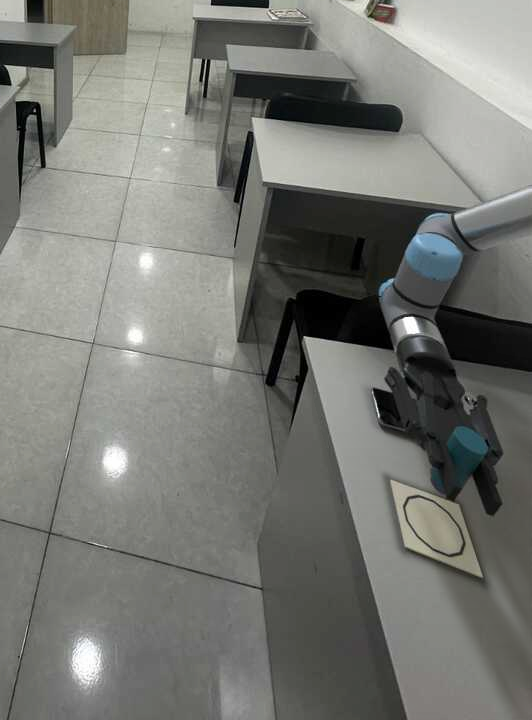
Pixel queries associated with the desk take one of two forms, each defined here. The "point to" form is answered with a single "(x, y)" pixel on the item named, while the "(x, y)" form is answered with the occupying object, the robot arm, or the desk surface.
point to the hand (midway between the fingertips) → (474, 501)
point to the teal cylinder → (462, 456)
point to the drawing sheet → (434, 528)
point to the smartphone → (392, 419)
